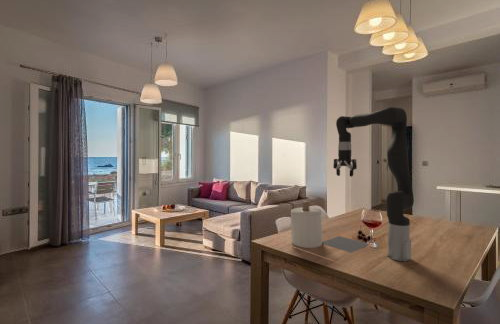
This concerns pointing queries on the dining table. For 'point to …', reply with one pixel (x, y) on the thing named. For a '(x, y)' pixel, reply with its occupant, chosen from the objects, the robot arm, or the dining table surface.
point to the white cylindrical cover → (306, 226)
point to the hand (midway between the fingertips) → (344, 176)
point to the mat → (345, 244)
